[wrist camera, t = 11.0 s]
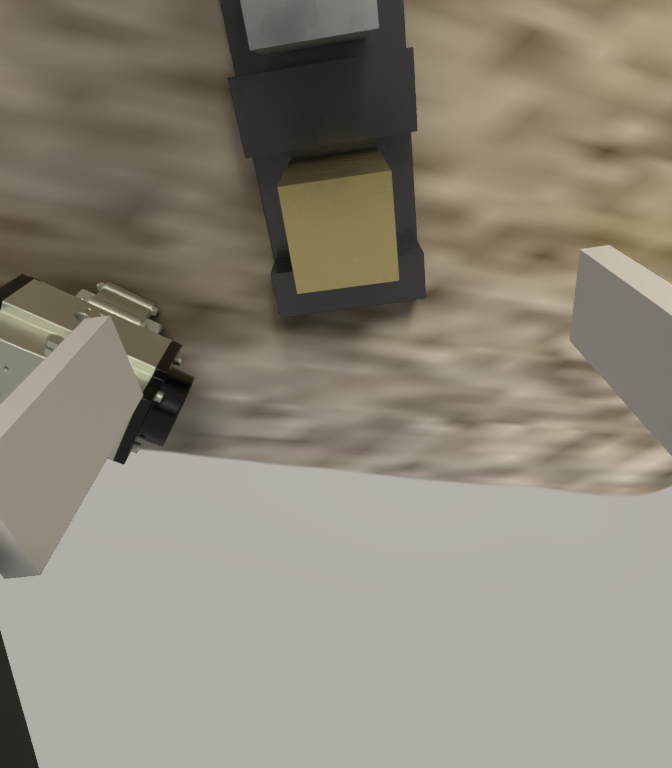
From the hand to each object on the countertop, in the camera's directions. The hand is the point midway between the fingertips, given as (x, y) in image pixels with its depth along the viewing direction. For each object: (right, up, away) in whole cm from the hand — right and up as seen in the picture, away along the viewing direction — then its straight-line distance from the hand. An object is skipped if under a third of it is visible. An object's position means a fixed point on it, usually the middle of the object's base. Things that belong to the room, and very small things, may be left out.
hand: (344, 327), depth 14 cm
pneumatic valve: (-14, +4, +20) cm, 25 cm away
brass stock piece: (0, +9, +16) cm, 18 cm away
